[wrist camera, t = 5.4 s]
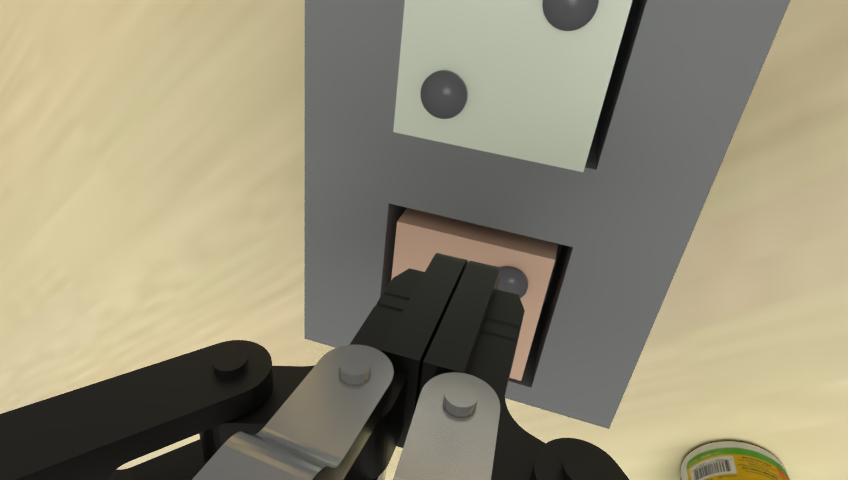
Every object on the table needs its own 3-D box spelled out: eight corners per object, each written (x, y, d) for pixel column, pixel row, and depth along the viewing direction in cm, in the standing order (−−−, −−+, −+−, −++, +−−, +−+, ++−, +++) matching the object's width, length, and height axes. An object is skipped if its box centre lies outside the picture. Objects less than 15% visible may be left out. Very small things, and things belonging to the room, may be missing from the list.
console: (931, -545, 14) (1172, -903, 8) (608, 328, 29) (609, 428, 23) (412, -529, 16) (305, -792, 11) (361, 263, 31) (304, 338, 25)
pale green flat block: (640, -57, 16) (649, -57, 13) (586, 136, 19) (582, 174, 16) (445, -83, 17) (410, -88, 14) (424, 104, 20) (391, 134, 17)
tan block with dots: (561, 218, 22) (555, 262, 19) (530, 330, 25) (520, 384, 22) (423, 186, 23) (395, 223, 20) (409, 297, 26) (383, 344, 23)
